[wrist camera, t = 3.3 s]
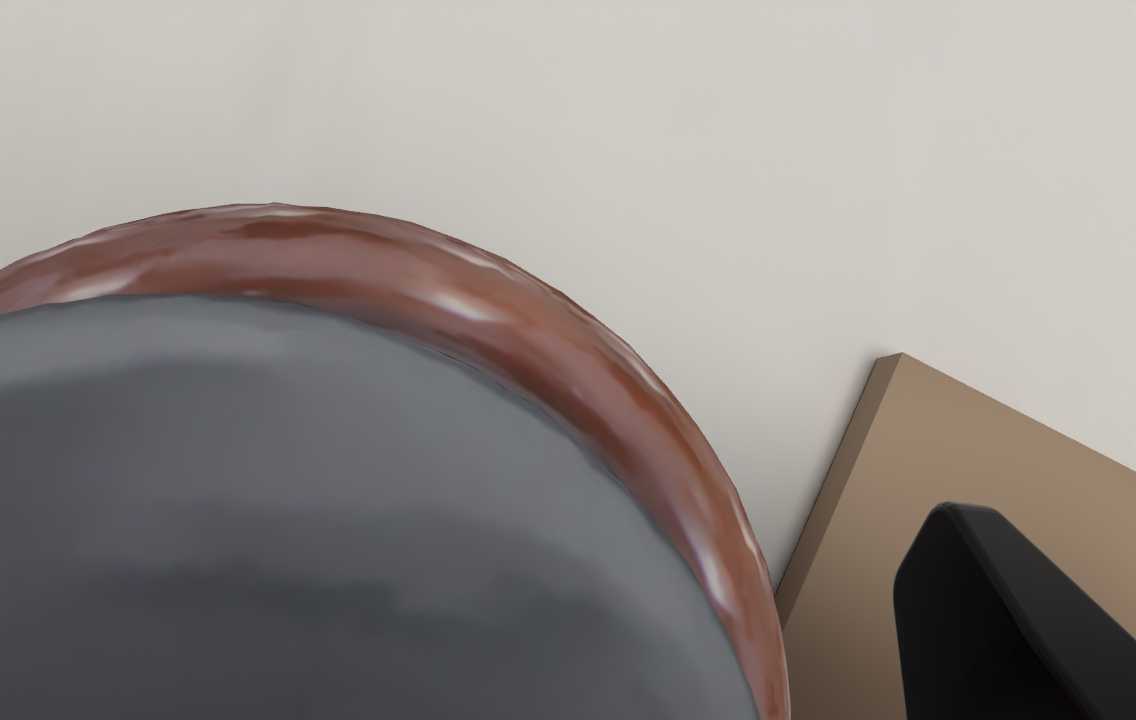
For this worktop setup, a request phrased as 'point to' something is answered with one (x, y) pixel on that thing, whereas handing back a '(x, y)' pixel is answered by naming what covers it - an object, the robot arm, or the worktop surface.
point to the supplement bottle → (353, 489)
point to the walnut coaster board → (900, 506)
